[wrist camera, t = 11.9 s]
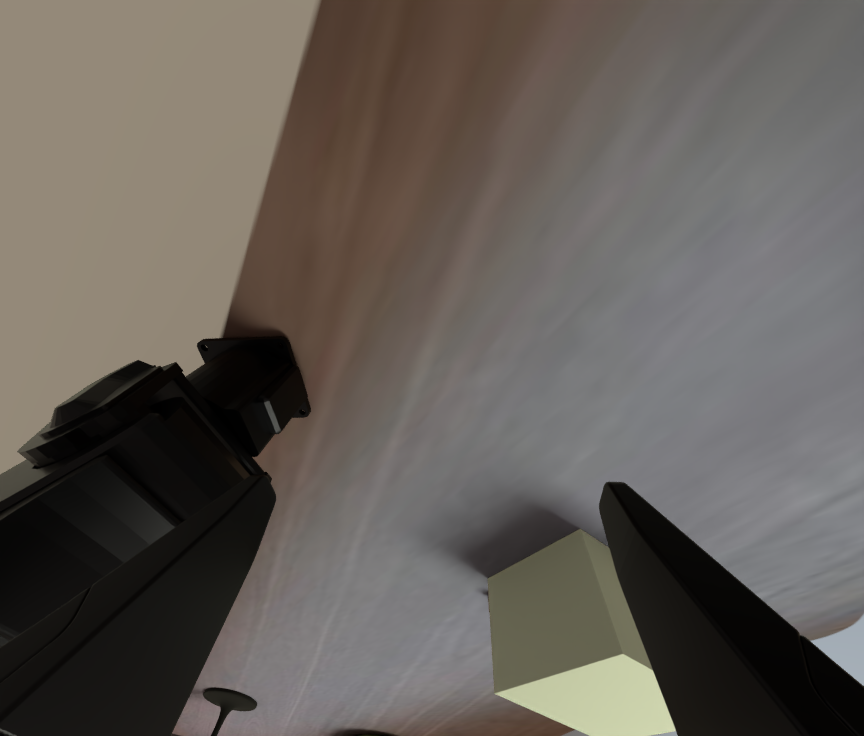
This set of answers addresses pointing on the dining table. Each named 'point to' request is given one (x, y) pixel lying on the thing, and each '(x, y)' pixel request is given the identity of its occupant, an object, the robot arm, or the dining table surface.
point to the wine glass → (228, 703)
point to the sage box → (573, 642)
